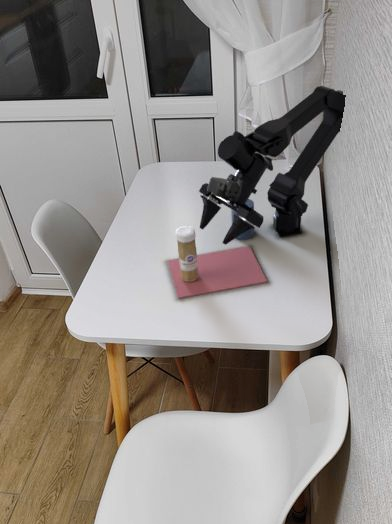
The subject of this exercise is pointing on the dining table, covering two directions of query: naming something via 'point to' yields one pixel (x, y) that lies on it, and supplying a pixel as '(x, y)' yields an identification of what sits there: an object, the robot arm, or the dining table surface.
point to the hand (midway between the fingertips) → (212, 236)
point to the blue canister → (250, 204)
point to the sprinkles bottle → (187, 253)
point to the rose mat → (219, 272)
